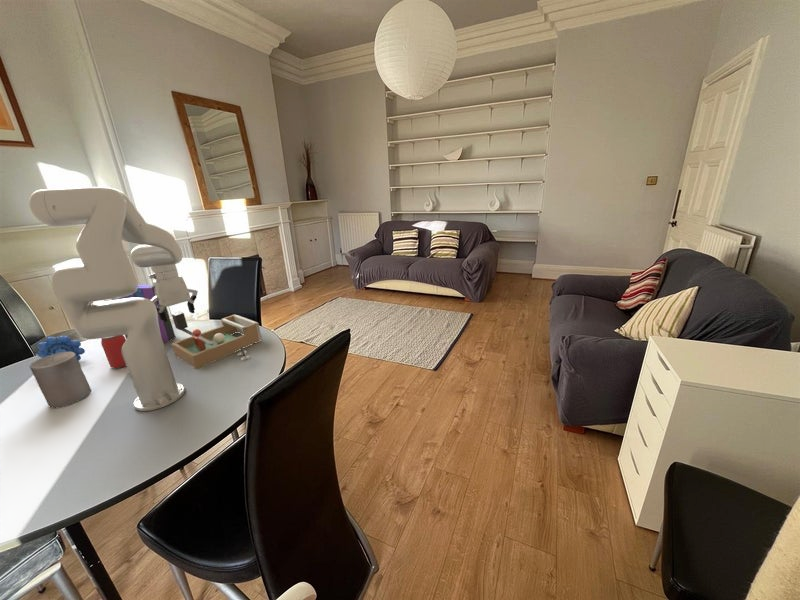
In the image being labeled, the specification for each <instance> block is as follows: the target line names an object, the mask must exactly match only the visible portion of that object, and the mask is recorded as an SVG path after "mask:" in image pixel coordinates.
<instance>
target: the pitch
mask: <svg viewBox="0 0 800 600" xmlns="http://www.w3.org/2000/svg"><path fill="white" fill-rule="evenodd" d="M220 320H221V325H220V326H218V327H215V328H211V329H208V330H205V331H203V332H201V334H200V336H202V337H203V338H205V339H207V340H209V341H211V342H213V343H214V344H213V345H212V346H211V345H209V344H207V343H205V342H204V343H205V347H206V349H205V350H202V351H200V350H198V349H197V348H196V345H195V341H194V338H193V336H189V337H187V338H183V339H181V340H179V341H174V342H172V343H171V347H172V351H173V353H174V356H175V357H177V358H178V357H179V358H178V359H179V360H181V359H182V361H183V362H185V363H186V364H187V365H189V366H191V367H192V366H193V367H192V368H194V369H196V370H198V369H200V368H202V367H205V366H206V364H207V365H209V364H212V363H213V361H214V362H216V361H218V359H219V360H221V359H223V358H225V357H224V356H226V355H228V356H230V355H232V354H231V353H233V352H235V351H237V350H239V349H241V347H242V348H243V347H246V346H248V345H250V344H253V343H255V342H258V341H260V340H262V341H263V338H262V333H261V329H260V324H259V323H260V322H257V321H255V320H252V319H249V318H247V317H244V316H241V315H239V314H238V315H237V314H232V315H229V316H225V317H223V318H220ZM235 332H240V333H242V334H244V335H242V334H241V335H240V336H234V334H233V333H235ZM217 333H222V334H224V336H225V340H224V341H223V342H222V343H216V342H215V341H214V340H213V337H214V335H215V334H217ZM231 334H233V335H231ZM258 343H259V342H258ZM237 352H238V351H237ZM235 353H236V352H235ZM229 354H230V355H229ZM233 354H234V353H233ZM222 357H223V358H222ZM226 357H227V356H226ZM220 358H221V359H220ZM215 360H216V361H215ZM211 362H212V363H211ZM204 365H205V366H204Z"/></svg>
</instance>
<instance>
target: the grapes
mask: <svg viewBox="0 0 800 600" xmlns="http://www.w3.org/2000/svg"><path fill="white" fill-rule="evenodd" d="M81 345H82V342H81V341H79V340H77V339H72V340H71V338H70V337H69V336H67V335H61V336H59V337H58V338H57V337H55V336H49V337H48V336H47V338H46V339H45V342H44V341H43V342H39V343H38V344H37V346H36V347H37V348H38V350H40V351H37V357H39V358H40V359H41V358H43V357H46V356H49V355H52V354H56V353H61V352H74V353H75V355H76V357H77V360H78V362H80V360H82V356H83V354H85V352H86V350H85V349H84V348H83V347H81ZM81 355H82V356H81Z"/></svg>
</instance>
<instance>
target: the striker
mask: <svg viewBox="0 0 800 600" xmlns="http://www.w3.org/2000/svg"><path fill="white" fill-rule="evenodd" d="M171 317H172V320H173V324H174V326H175V329H177V330H179V331H182V332H183V333H186V334H188V335H190V337H192V336H193V338H194V341H195V345H196V348H197V349H198V350H200V351H202V350H205V349H206V347H205V343H207V344H209V345H211V346H212V345H213V344H214V343H213V342H211V341H209V340H207V339H205V338H203V337H202V336H200V334H201V333H202V331H201V330H200V329H198V328H197V329H196V328H195V329H194V330H193V331H191V330H189V329H187V328H189V327H188V323H187V320H186V317H185V313H184V312H182V311H177V312H173V313H171ZM204 342H205V343H204Z"/></svg>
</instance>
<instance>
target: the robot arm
mask: <svg viewBox="0 0 800 600" xmlns="http://www.w3.org/2000/svg"><path fill="white" fill-rule="evenodd" d="M28 204H29V205H28V207H29V209H30V211H31V212H32V214H33V216H34V217H35V219H36V220H38V221H40V222H41V223H42V224H44V225H47V226H50V227H54V228H55V227H68V226H69V227H71V226H82V225H83V226H84V225H85V226H84V227H83V228H82V230H81V231H80V233H79V235H78V237H77V239H76V244H75V248H76V251H77V254H78V255H79V257H80V259H81V262H82V264H73V265H66V266H61V267H60V268H58V269H56V270H55V271H54V272H53V274H52V277H51V289H52V291H53V295H54V296H55V298H56V300H57V302H58V304H59V306H60V307H61V309H62V311H63V313H64V315H66V318H67V320H68V321H69V322H70V324H71V326H72V328H73V329H74V330H75V332H76V333H77V334H78V336H80V337H81V338H83V339H86V340H96V339H98V340H99V339H101V338H105V337H111V336H117V335H123V336H125V335H127V336H128V337H127V339H126V338H125V339H126V341H125V342H124V344H123V346H122V356H123V358H124V361H125V363H126V366H125V367H126V368H127V372H128V373H129V376H130V380H131V381H132V384H133V386H134V389H135V392H136V394H137V397H136V398H135V400H134V401H133V407H134V409H135V410H137V411H141V412H149V411H154V410H158V409H161V408H165V407H166V406H168V405H171V404H173V403H174V402H176V401H177V400H179V399H180V398H181V397H182V396H183V395H184V393H185V392H186V389H185V386H184V384H182V383H180V382H179V383H178V382H177V381H176V378H175V375H174V371H173V369H172V365H171V362H170V359H169V357H168V353H167V350H166V347H165V344H164V342H163V340H162V337H161V333H160V329H159V323H158V314H157V312H158V313H159V316H160V319H161V320H163V321H164V322H167V318H166V315H165V312H163V310H164V308H165V307H166V308H168V307H171V306H175V305H177V304H178V305H179V304H182V303H186V302H187V303H186V305H187V308H188V311H189V313H190V314H195V311H196V309H195V305H194V303H195V301H196V300H197V295H198V290H196V289H191V288H188V286H187V284H186V282H185V280H184V278H183V276H182V275H179V272H178V269H177V264H179V263H181V262H182V260H183V252H182V251H183V250H182V249H181V247H180V244H179V243H178V242H177V240H176V238H175V236H174V235H172V233H170V232H169V231H167V230H165V229H163V228H161V227H160V226H157V225H155V224H152V223H149V222H147V221H146V220H145V219H144V217H143V216H142V215H141V213H140V212H139V211H138V209H137V208H136V206H135V205H134V203H133V202H132V201H131V199H130V197H128V195H127V194H126V193H125V192H123V191H121V190H119V189H117V188H113V187H112V188H111V187H107V186H106V187H105V186H104V187H103V186H102V187H101V186H83V187H72V188H71V187H70V188H69V187H68V188H67V187H65V188H47V189H46V188H45V189H38V190H35V191H34V192H33V193H31V195H30V197H29V199H28ZM123 241H124V242H127V243H132V244H136V245H137V246H135V247H134V248H132V249H131V252H130V255H129V256H130V260H131V262H132V263H133V265H135V266H136V267H138V268H150V269H151V274H149V275H148V278H149V279H153V281H152V282H153V284H152V285H153V286H154V292H155V297H154V298H152V299H151V300H149V299H147V298H141V297H135V298H126V299H118V300H112V299H115V298H121V297H125V296H129V295H132V294H133V293H135V292H136V290H137V288H138V285H139V284H138V279H137V276H136V273H135V272H134V269H133V267H132V263H131V262H130V260H129V257H128V254H127V252H126V250H125V247H124V244H123ZM190 294H191V295H190ZM107 300H108V301H107ZM97 301H98V302H97ZM99 301H100V302H99ZM156 301H157V303H158V304H159V305H158V307H157V308H156V306H155V304H154V303H155V302H156Z"/></svg>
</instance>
